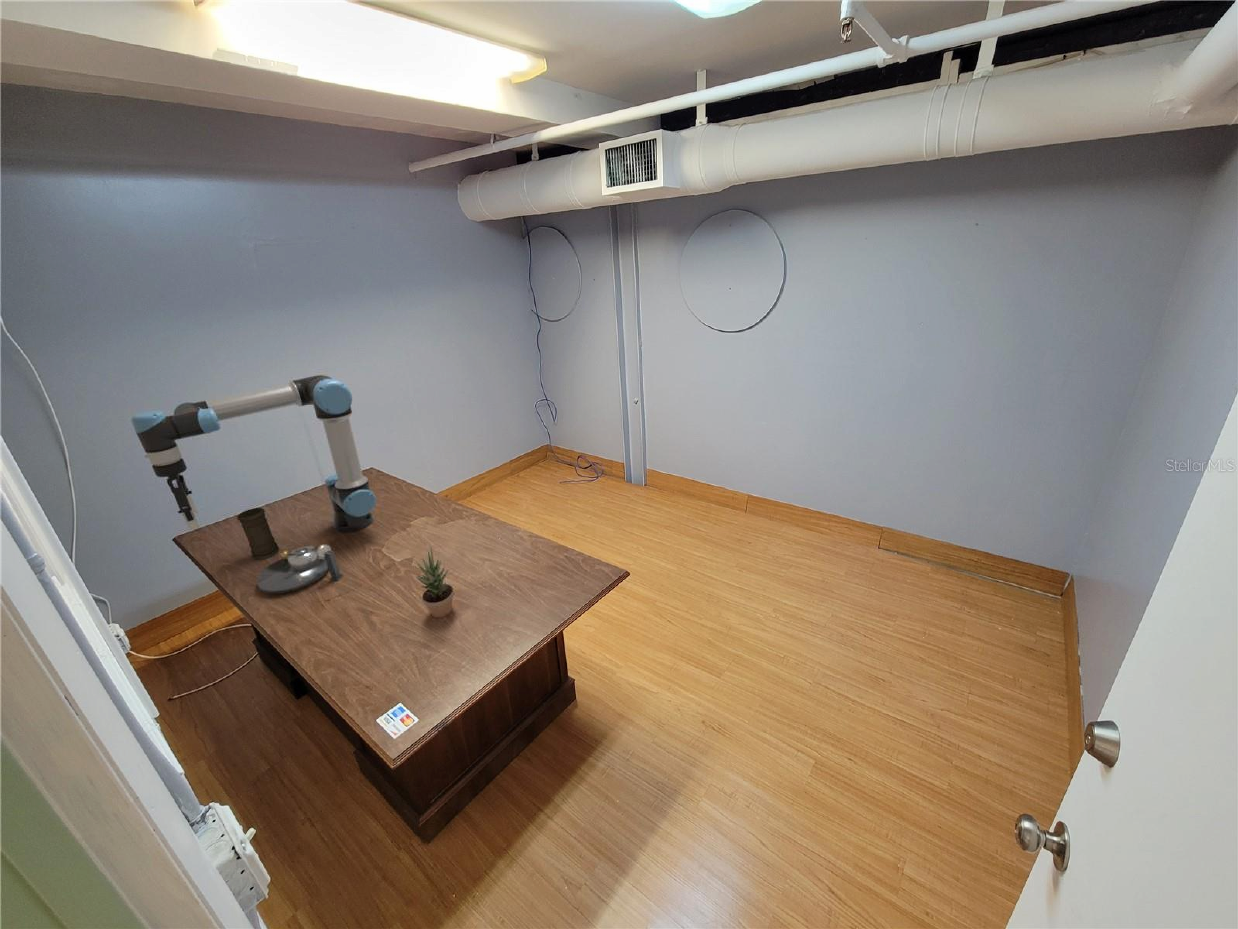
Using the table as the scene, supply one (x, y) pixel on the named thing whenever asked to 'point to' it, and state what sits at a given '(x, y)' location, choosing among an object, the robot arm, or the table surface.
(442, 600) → the potted plant
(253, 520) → the container
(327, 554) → the dial stand
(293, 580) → the turntable
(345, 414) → the robot arm
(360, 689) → the table surface
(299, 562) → the cover
